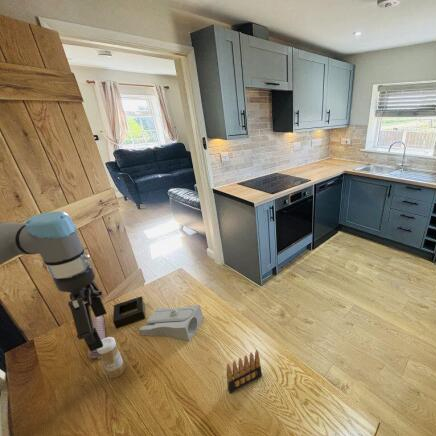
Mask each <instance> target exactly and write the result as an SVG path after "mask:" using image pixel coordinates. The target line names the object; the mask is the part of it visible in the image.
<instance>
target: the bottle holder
mask: <svg viewBox="0 0 436 436" xmlns="http://www.w3.org/2000/svg"><path fill="white" fill-rule="evenodd" d="M112 315H113V316H112V323H113V325H114V327H115V329H116V330H118V329H120V328H123V327H125V326H128V325H131V324H134V323H137V322H140V321H142V320H144V319H146V309H145V301H144V298H143V296H142V295H141V296H138V297H135V298H131V299H129V300H126V301H123V302H119V303H115V304H114V305H113V313H112Z"/></svg>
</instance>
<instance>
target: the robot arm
mask: <svg viewBox="0 0 436 436" xmlns="http://www.w3.org/2000/svg"><path fill="white" fill-rule="evenodd" d="M20 255H21V256H22V255H23V256H25V255H40V257H41V259H42V261H43V263H44V265H45V267H46V269H47V272H48V273H49V275H50V277H51V278H52V280H53V283H54V285H55V286H56V288H57V290H58V291H60V292H61V293H62V292H63V293H69V299H70V301H68V304H67V305H68V308H69V309H70V311H71V314H72V315H71V316H72V318H73V323H74V326H75V330H76V334H77V335H76V337H77V339H78V340H82V339H83V340H84V342H85V344H86V346H87V348H89V349H88V350H90V352H91V351H94V350H96V349H99V348H101V347H103V343H102V341H101V339H100V337H99V335H98V332H97V330H96V328H94V327H93V322H92V319H93V318H92V313H93V315H94V318H95V317H102V316H104V315H107V310H106V308H105V305H104V303H103V301H102V298H101V296H103V291H101V290H100V288H99V286H98V285H97V283H96V282H95V281H94V280H95V277H96V276H95V273H94V271H93V268H92V266H91V265H90V261H89V259H90V258H91V257H90V254H86V251H85V249H84V247H83V245H82V243H81V240H80V237H79V234H78V231H77V227H76V225H75V224H74V222H73V220H72V219H71V217H70V215H69V214H68V213H66V212H64V211H49V212H42V213H39V214H35V215H33V216H30V217H28V218H27V219H26V220H25V221H24V222H4V221H3V222H0V266H1V265H3V264H5V263H6V262H9V261H10V260H12V259H14V258H16V257H18V256H20ZM91 311H92V312H91Z"/></svg>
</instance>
